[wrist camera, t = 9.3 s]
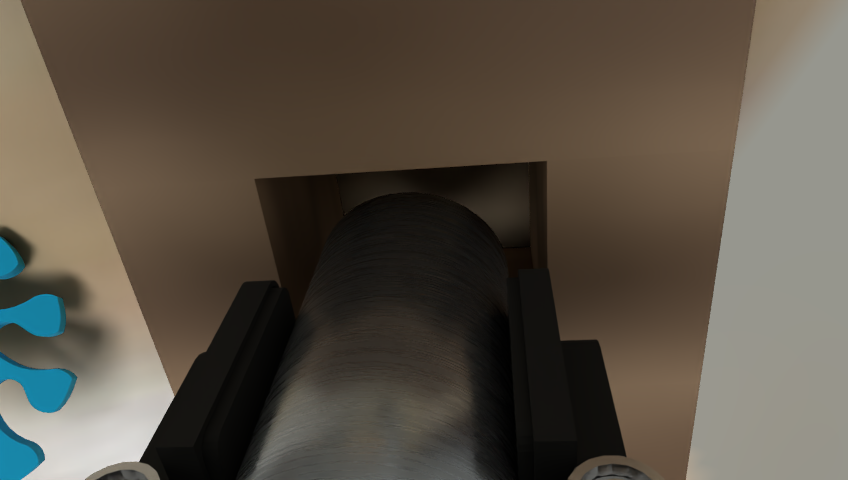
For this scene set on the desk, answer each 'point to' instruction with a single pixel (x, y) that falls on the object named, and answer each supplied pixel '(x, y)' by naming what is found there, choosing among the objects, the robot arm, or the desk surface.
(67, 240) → the desk surface
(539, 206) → the hole block
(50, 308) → the gear
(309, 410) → the long pin
